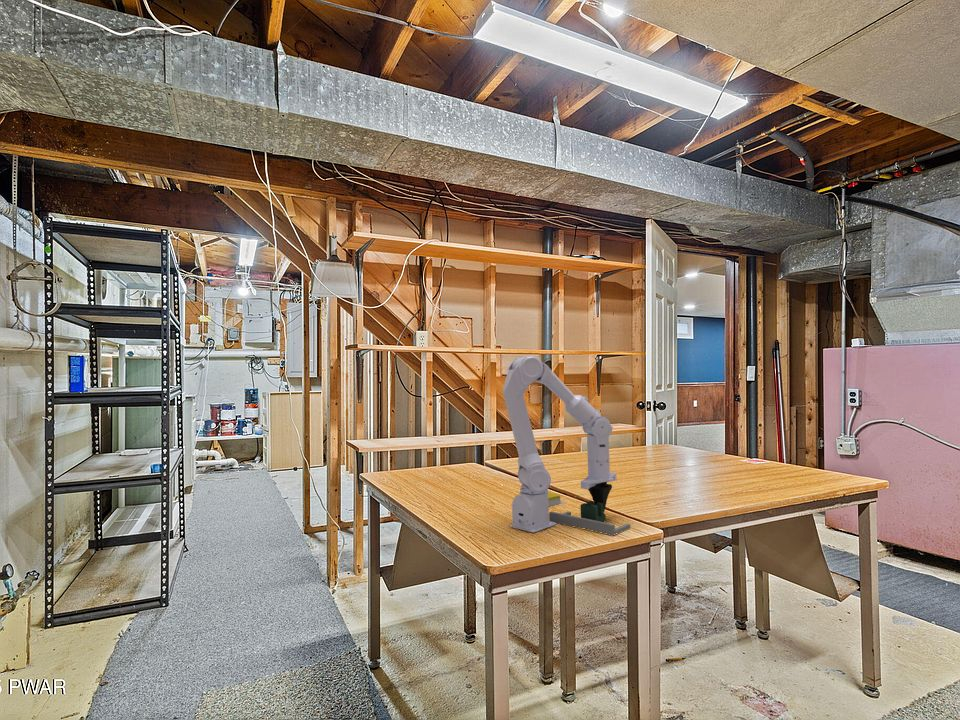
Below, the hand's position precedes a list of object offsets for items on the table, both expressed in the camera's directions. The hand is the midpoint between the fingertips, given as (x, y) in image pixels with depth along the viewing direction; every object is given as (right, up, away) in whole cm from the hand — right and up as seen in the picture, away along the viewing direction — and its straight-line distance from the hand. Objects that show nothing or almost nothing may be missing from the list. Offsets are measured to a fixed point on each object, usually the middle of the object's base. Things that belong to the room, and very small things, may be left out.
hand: (600, 511), depth 136 cm
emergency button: (-14, -4, +19) cm, 24 cm away
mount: (-3, -2, -2) cm, 4 cm away
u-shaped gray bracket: (-4, -2, -4) cm, 6 cm away
